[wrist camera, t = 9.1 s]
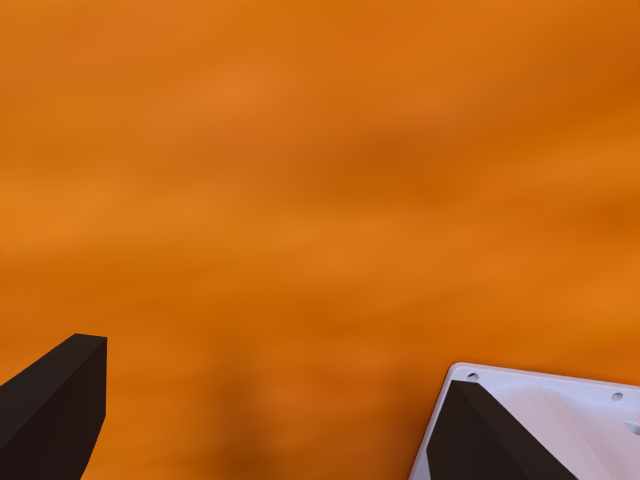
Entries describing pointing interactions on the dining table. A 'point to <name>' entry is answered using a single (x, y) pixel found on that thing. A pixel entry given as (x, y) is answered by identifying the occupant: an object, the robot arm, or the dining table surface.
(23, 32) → the dining table surface
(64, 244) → the dining table surface
